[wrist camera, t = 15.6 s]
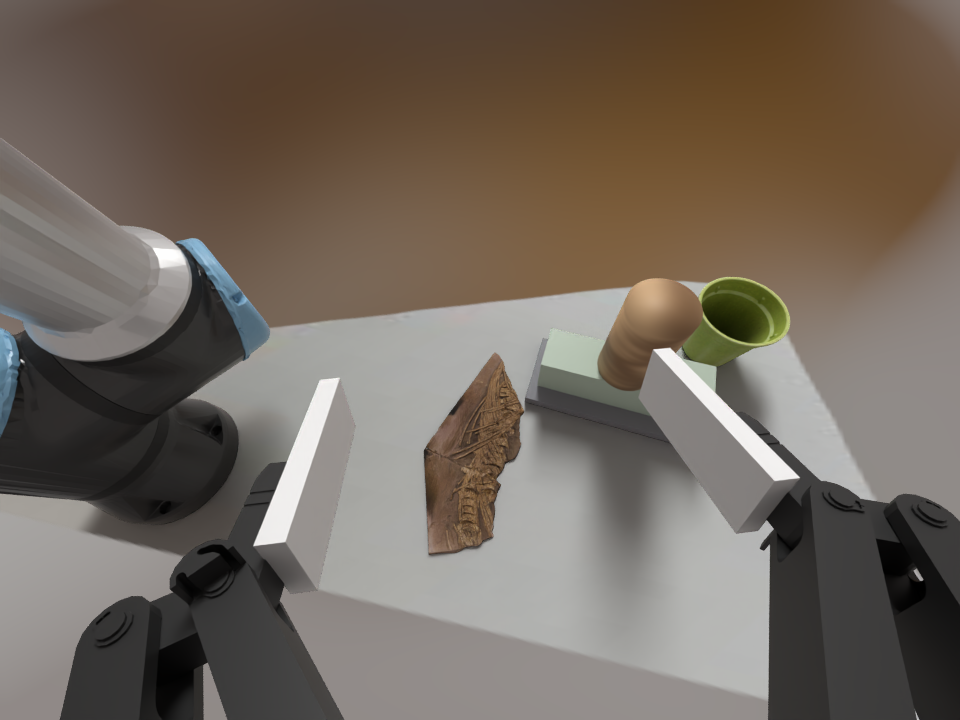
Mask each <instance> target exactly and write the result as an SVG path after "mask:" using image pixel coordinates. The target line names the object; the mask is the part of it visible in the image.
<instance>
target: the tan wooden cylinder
mask: <svg viewBox="0 0 960 720" xmlns="http://www.w3.org/2000/svg"><path fill="white" fill-rule="evenodd" d="M702 318H703V308H702V305H701V302H700V301H699V299H698V297H697V296H696V295H695V294H694V293H693V292H692V291H691V290H690V289H689V288H687V287H686V286H684V285H682V284H681V283H678V282H676V281H673V280H669V279H662V278H654V279H648V280H644V281H642V282H639V283H638V284H636V285H635V286H634V287H633V288H632V289H631V290H630V291H629V293H628V295H627V297H626V299H625V301H624V304H623V306H622V308H621V310H620V312H619V314H618V316H617V318H616V320H615V323H614V325H613V327H612V329H611V331H610V333H609V335H608V337H607V339H606V342H605V344H604V346H603V348H602V350H601V352H600V354H599V357H598V361H597V365H598V370H599V373H600V375H601V376H602V378H603V379H604V380H605V381H606V382H607V383H608V384H609V385H611V386H613V387H614V388H617V389H619V390H623V391H637V390H640V389H641V387H642V384H643V381H644V377H645V374H646V371H647V368H648V364H649V361H650V358H651V355H652V351H653V349H664V348H671V349H672V350H673V351H674V352H675V353H676V352H677V351H678V350H679V349H680V347H681V346H682V345H683V344H684V343H685V342H686V341H687V339H688V338H689V337H690V336H691V335H692V334H693V332H694V331H695V330H696V329H697V328H698V327H699V325H700V323H701V321H702Z"/></svg>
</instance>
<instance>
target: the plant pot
mask: <svg viewBox="0 0 960 720" xmlns="http://www.w3.org/2000/svg"><path fill="white" fill-rule="evenodd" d="M698 299H699V301H700V302H701V305H702V308H703V318H702V321H701V323H700V325H699V327H698V328H697V329H696V330H695V331H694V332H693V334H692V335H691V336H690V337H689V338H688V339H687V341H686V342H685V343H684V344H683V345H682V346H683V349H684V351H685V353H686V354H687V356H688V357H689V358H690V359H691V360H693V361H696V362H698V363H703V364H707V365H711V366H715V367H718V366H721V365H723V364H725V363H727V362H729V361H731V360H733V359H734V358H736V357H738V356H740V355H742V354H744V353H746V352H748V351H749V350H751V349H753V348H757V347H763V346H768V345H771V344H774V343H776V342H777V341H779V340H781V339H782V338H783V337H784V336H785V335H786V333H787V332H788V330H789V327H790V315H789V312H788V310H787V308H786V306H785V304H784V303H783V302H782V300H781V299H780V298H779V297H778V296H777V295H776V294H775V293H774V292H773V291H771V290H770V289H768V288H767V287H765V286H763V285H761V284H759V283H757V282H755V281H752V280H749V279H745V278H738V277H725V278H720V279H717V280H714V281H712V282H710V283H709V284H707V285H706V286H705V287H704V288H703V290H702V291H701V293H700V295H699V298H698Z"/></svg>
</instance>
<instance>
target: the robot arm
mask: <svg viewBox="0 0 960 720" xmlns="http://www.w3.org/2000/svg"><path fill="white" fill-rule="evenodd" d="M0 313H2V314H5V315H7V316H10V317H13V318H16V319H19V320H22V323H23V326H24V328H25V330H24V331H23V332H20V333H18V334H16V335H11V334H10V332H8V331H6V330H4V329H2V328H0V494H12V495H23V496H35V497H46V498H58V499H71V500H80V501H86V502H88V503H90V504H92V505H93V506H95V507H97V508H99V509H101V510H103V511H105V512H107V513H108V514H110V515H112V516H114V517H116V518H118V519H120V520H122V521H126V522H129V523H135V524H151V525H158V524H165V523H170V522H173V521H176V520H179V519H181V518H183V517H185V516H187V515H189V514H191V513H192V512H194V511H195V510H197V509H198V508H200V507H201V506H202V505H203V504H205V503H206V502H207V501H208V500H209V499H210V498H211V497H212V496H213V495H214V494H215V493H216V492H217V491H218V489H219V488H220V487H221V486H222V484H223V483H224V481H225V480H226V478H227V476H228V475H229V473H230V471H231V469H232V467H233V464H234V461H235V458H236V455H237V450H238V431H237V427H236V425H235V423H234V421H233V419H232V418H231V416H230V415H229V414H228V413H227V412H226V411H224V410H223V409H221V408H219V407H217V406H215V405H213V404H210V403H208V402H206V401H202V400H197V399H187V397H188V396H190V395H191V394H193V393H194V392H196V391H197V390H199V389H200V388H202V387H203V386H204V385H206V384H207V383H209V382H210V381H212V380H213V379H215V378H216V377H218V376H219V375H221V374H222V373H224V372H226V371H227V370H229V369H230V368H232V367H233V366H235V365H236V364H238V363H239V362H241V361H244V360H246V359H248V358H249V356H250V354H251V353H252V352H254V351H255V350H256V349H258V348H259V347H260V346H262V345H263V344H264V343H265V342H266V341H267V340H268V338H269V335H270V329H269V326H268V325H267V323H266V322H265V320H264V319H263V318H262V317H261V315H260V314H259V313H258V312H257V310H256V309H255V308H254V306H253V305H252V304H251V303H250V301H249V300H248V299H247V298H246V297H245V295H244V294H243V293H242V291H241V290H240V289H239V287H238V286H237V285H236V284H235V282H234V281H233V280H232V279H231V277H230V276H229V275H228V273H227V272H226V271H225V270H224V268H222V266H221V265H220V263H219V262H218V261H217V260H216V259H215V257H214V256H213V255H212V254H211V253H210V251H209V250H208V249H207V248H206V246H205V245H204V244H203V243H202V242H201V241H199V240H198V239H193V238H191V239H187V240H180V241H178V242H176V243H175V244H174V243H173V242H172V241H170V240H169V239H167V238H166V237H164V236H163V235H161V234H159V233H157V232H154V231H152V230H148V229H145V228H139V227H132V226H118V225H117V224H115V223H114V222H113V221H111V220H110V219H109V218H107V217H106V216H105V215H103V214H102V213H101V212H99V211H98V210H97V209H95V208H94V207H93V206H91V205H90V204H89V203H87V202H86V201H84V200H83V199H82V198H81V197H79V196H78V195H77V194H75V193H73V192H72V191H71V190H70V189H69V188H67V187H66V186H64V185H63V184H62V183H60V182H59V181H58V180H56V179H55V178H54V177H52V176H51V175H50V174H48V173H47V172H46V171H44V170H43V169H42V168H40V167H39V166H38V165H36V164H35V163H34V162H32V161H31V160H30V159H28V158H27V157H26V156H24V155H23V154H21V153H20V152H19V151H18V150H16V149H15V148H13V147H12V146H11V145H9V144H8V143H7V142H5V141H4V140H3V139H1V138H0ZM638 398H639V400H640V401H641V402H642V404H643V405H644V407H645V408H646V409H647V411H648V412H649V413H650V415H651V416H652V418H653V419H654V420H655V422H656V423H657V425H658V426H659V427H660V429H661V430H662V432H663V433H664V434H665V436H666V437H667V438H668V440H669V441H670V443H671V444H672V445H673V447H674V448H675V450H676V451H677V452H678V454H679V455H680V457H681V458H682V459H683V461H684V462H685V463H686V465H687V466H688V468H689V469H690V470H691V472H692V473H693V475H694V476H695V477H696V479H697V480H698V482H699V483H700V484H701V486H702V487H703V489H704V490H705V491H706V493H707V494H708V495H709V497H710V498H711V500H712V501H713V502H714V504H715V505H716V507H717V508H718V509H719V511H720V512H721V514H722V515H723V516H724V518H725V519H726V520H727V522H728V523H729V525H730V526H731V527H732V529H733V530H734V532H735V533H736V534H738V533H745V532H752V531H758V530H759V529H760V528H761V527H762V525H763V524H764V523H765V521H766V520H767V521H768V522H769V523H770V524H771V526H772V527H773V528H774V530H773V531H772V532H771V533H770V534H769V535H768V537H767V538H766V539H765V540H764V541H763V543H762V544H761V547H760V549H761V550H763V551H764V550H765V549H766V548H767V547H768V545H769V544H770V605H769V699H768V703H769V704H768V705H769V706H768V720H917V718H916V714H915V711H916V713H917V715H918V717H919V720H960V521H959V520H958V519H957V518H956V517H955V516H954V515H953V514H952V513H950V512H949V511H948V510H946V509H944V508H943V507H942V506H940V505H939V504H936V503H935V502H932V501H931V500H929V499H926V498H923V497H920V496H917V495H912V494H902V495H899V496H897V497H896V498H895V499H894V500H893V501H891V502H890V503H883V502H877V501H871V500H864V499H860V498H859V497H858V496H857V495H855V494H854V493H852V492H851V491H850V490H848V489H846V488H844V487H842V486H840V485H838V484H835V483H831V482H827V481H820V480H819V479H818V478H817V477H816V476H815V475H814V474H813V473H812V472H810V471H809V470H808V469H807V468H806V467H805V466H804V465H803V464H802V463H801V462H800V461H799V460H798V459H797V458H796V457H795V456H794V455H793V454H792V453H791V452H790V451H788V450H787V449H786V448H785V447H784V446H783V445H782V444H780V442H779V441H778V440H777V439H776V438H775V437H774V436H773V435H770V432H769V431H768V430H767V429H765V428H764V427H763V426H762V425H761V424H760V423H759V422H758V421H757V420H755V419H753V418H752V417H750V416H748V415H747V414H745V413H743V412H737V413H735V412H734V411H733V410H732V409H731V408H730V407H729V406H728V405H727V404H726V403H725V402H724V401H723V400H722V399H721V398H720V397H719V396H718V395H717V394H716V393H715V392H714V391H713V390H712V389H711V388H710V387H709V386H708V385H707V384H706V383H705V382H704V381H703V380H702V379H701V378H700V377H699V376H698V375H697V374H696V373H695V372H694V371H693V370H692V369H691V368H690V367H689V366H688V365H687V364H686V363H685V362H684V361H683V360H682V359H681V358H680V357H679V356H678V355H677V354H676V353H675V352H674V351H673V350H672V349H671V348H664V349H653V351H652V355H651V358H650V361H649V364H648V368H647V371H646V374H645V377H644V381H643V384H642V387H641V390H640V394H639V397H638ZM355 427H356V426H355V423H354V420H353V417H352V414H351V411H350V408H349V405H348V402H347V399H346V396H345V392H344V389H343V386H342V383H341V380H340V378H334V379H323V380H320V381H319V384H318V386H317V389H316V391H315V394H314V396H313V399H312V401H311V404H310V406H309V409H308V411H307V414H306V416H305V419H304V421H303V424H302V426H301V429H300V431H299V433H298V436H297V438H296V441H295V443H294V446H293V448H292V451H291V453H290V456H289V458H288V461H287V462H280V463H271V464H269V465H268V466H267V467H266V468H265V469H264V470H263V471H262V472H261V474H260V475H259V476H258V477H257V478H256V481H255V483H254V485H253V487H252V489H251V491H250V495H249V496H248V498H247V500H246V502H245V504H244V508H242V511H241V513H240V515H239V517H238V519H237V521H236V523H235V526H234V528H233V530H232V532H231V534H230V536H229V538H228V541H227V540H221V539H216V540H212V541H207V542H205V543H203V544H201V545H199V546H197V547H195V548H194V549H193V550H192V551H190V552H189V553H188V554H187V555H185V556H184V557H183V558H182V560H181V561H180V562H179V564H178V565H177V566H176V567H175V569H174V571H173V573H172V575H171V578H170V590H171V591H173V593H171V594H169V595H166V596H164V597H161V598H159V599H157V600H155V601H152V602H149V601H148V600H146V599H145V598H143V597H142V596H131V597H129V598H126V599H123V600H120V601H118V602H116V603H115V604H113V605H112V606H110V607H108V608H107V609H105V610H104V611H103V612H102V613H101V614H100V615H98V616H97V617H96V618H95V619H94V620H93V621H92V622H91V623H90V625H89V626H88V627H87V629H86V630H85V631H84V633H83V634H82V636H81V638H80V641H79V643H78V645H77V648H76V652H75V656H74V660H73V665H72V669H71V673H70V678H69V682H68V686H67V691H66V695H65V700H64V704H63V709H62V713H61V717H60V720H203V665H204V664H206V663H208V664H209V666H210V670H211V672H212V676H213V679H214V681H215V684H216V687H217V690H218V693H219V696H220V699H221V702H222V705H223V708H224V711H225V713H226V717H227V719H228V720H344V718H343V717H342V715H341V713H340V711H339V709H338V707H337V705H336V703H335V702H334V700H333V698H332V696H331V694H330V692H329V690H328V688H327V687H326V685H325V683H324V681H323V679H322V677H321V675H320V674H319V672H318V670H317V668H316V666H315V664H314V663H313V661H312V659H311V657H310V655H309V653H308V651H307V649H306V648H305V646H304V644H303V642H302V640H301V638H300V636H299V635H298V633H297V631H296V629H295V627H294V625H293V623H292V621H291V620H290V618H289V616H288V614H287V612H286V611H285V608H284V607H283V605H282V603H281V602H280V598H281V595H282V591H283V588H284V586H285V587H286V589H287V590H288V591H289V593H290V594H295V593H303V592H310V591H318V587H319V583H320V578H321V574H322V570H323V565H324V561H325V557H326V552H327V548H328V544H329V540H330V535H331V531H332V527H333V522H334V518H335V514H336V509H337V505H338V501H339V496H340V492H341V488H342V483H343V479H344V475H345V470H346V466H347V462H348V457H349V453H350V449H351V445H352V440H353V436H354V432H355ZM916 568H917V569H918V571H919V573H920V574H921V576H922V578H923V581H920V580H919V579H918V578H917V576H916V575H915V573H914V571H913V570H915V569H916Z"/></svg>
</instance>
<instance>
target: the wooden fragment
mask: <svg viewBox="0 0 960 720" xmlns="http://www.w3.org/2000/svg"><path fill="white" fill-rule="evenodd" d="M504 369H505V366H504V362H503V361H502V359H501V358H500V356H499V355H498V354H496V353H494V354H493V355H492V356H491V358H490V359H489V361H488V362H487V363H486V365H485V366H484V367H483V369H482V370H481V371H480V373H479V374H478V376H477V377H476V378H475V380H474V381H473V382H472V384H471V385H470V386H469V388H468V389H467V390H466V392H465V393H464V394H463V396H462V397H461V398H460V399H459V401H458V402H457V404H456V405H455V406H454V408H453V409H452V410H451V412H450V413H449V414H448V416H447V417H446V419H445V420H444V422H443V423H442V424H441V426H440V427H439V429H438V431H437V433H436V434H435V435H434V436H433V437H432V439H431V440H430V441H429V443H428V444H427V446H426V448H429V449H430V450H431V451H429V450H428V449H426V448H425V450H424V458H425V461H424V462H425V482H426V501H427V517H428V518H427V523H428V542H429V544H428V546H429V555H430V554H437V553H457V552H459V551H461V550H463V549H464V548H465V547H469V546H478V545H480V544H481V543H482V541H483V540H485V539H488V538H491V537H493V536H494V535H493V533H492V530H493V527H494V526H493V518H494V515H495V506H494V501H495V497H496V496H497V492H498V490H499V488H500V486H501V484H500V483H498V482H497V481H496V478H497V477H498V476H499V474H500V473H501V471H502V469H503V467H504V465H505V463H506V462H508V461H510V460H511V459H514V458H515V457H516V455H517V453H518V451H519V448H520V445H521V442H520V439H519V436H520V432H519V423H520V416H521V415H522V414H523V413H524V410H523V408H522V406H521V404H520V402H519V400H518V398H517V394H516V392H515V390H514V389H513V388H512V385H511V381H510V379H509V378H508V376H507V374H506V372H505V370H504Z"/></svg>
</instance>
